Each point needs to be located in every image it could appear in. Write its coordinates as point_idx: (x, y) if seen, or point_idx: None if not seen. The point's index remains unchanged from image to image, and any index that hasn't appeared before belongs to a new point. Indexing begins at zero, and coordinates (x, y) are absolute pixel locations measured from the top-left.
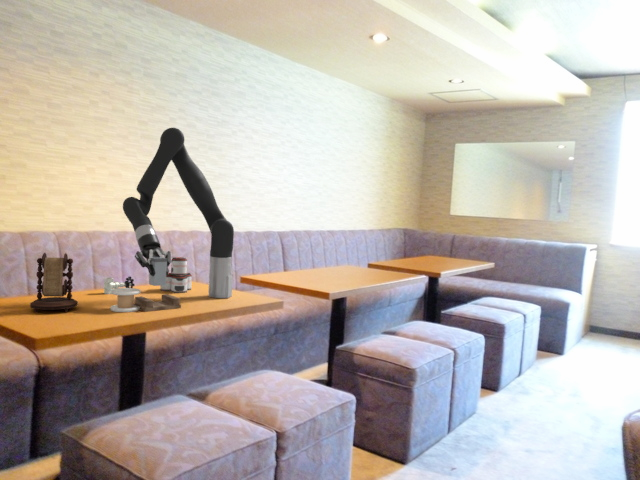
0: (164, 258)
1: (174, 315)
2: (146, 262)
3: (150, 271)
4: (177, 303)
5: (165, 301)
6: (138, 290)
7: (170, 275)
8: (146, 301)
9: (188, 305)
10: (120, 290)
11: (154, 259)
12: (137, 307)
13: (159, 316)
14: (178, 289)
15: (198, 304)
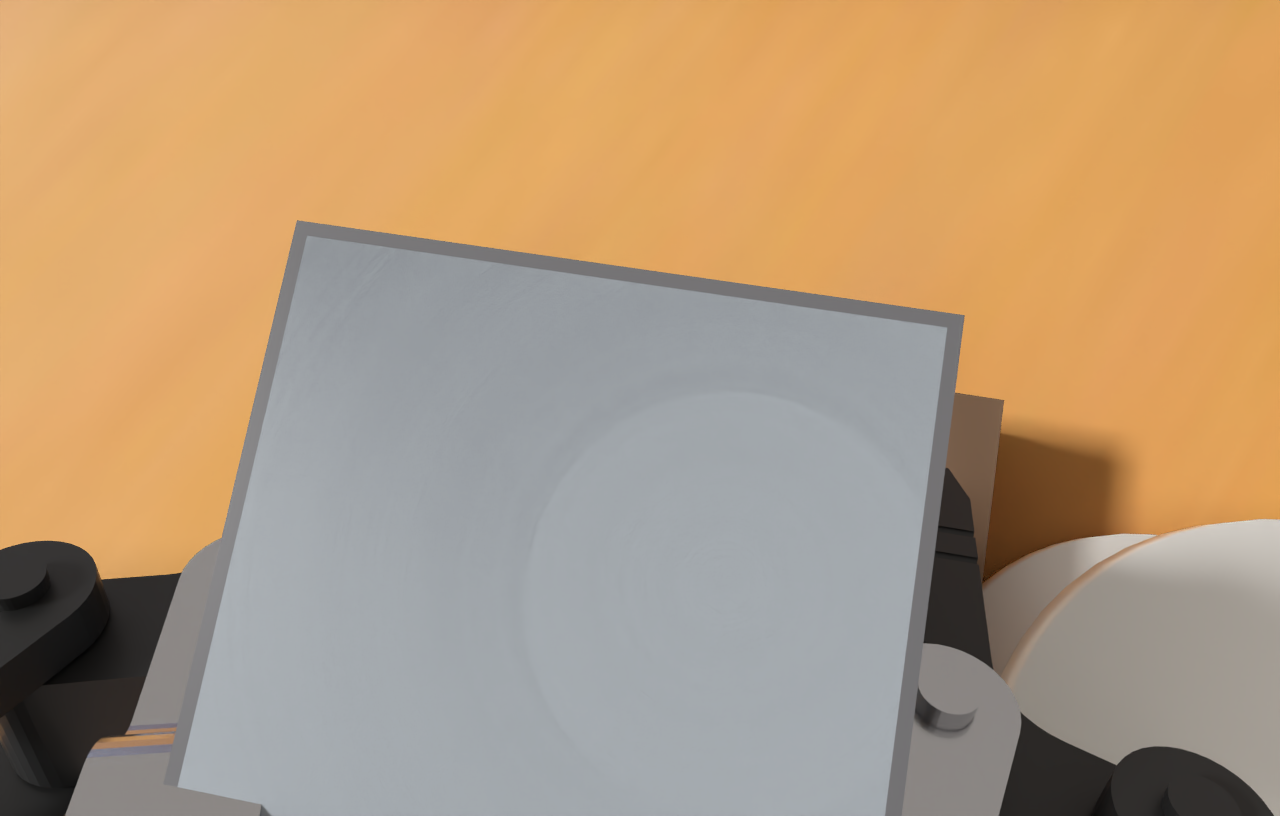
0: (413, 286)
1: (801, 13)
2: (1129, 780)
3: (966, 523)
4: None
5: None
6: (1091, 639)
7: None
8: (1003, 404)
9: (242, 428)
10: None
11: (939, 419)
12: (1029, 584)
13: (987, 71)
14: None
15: (91, 401)
